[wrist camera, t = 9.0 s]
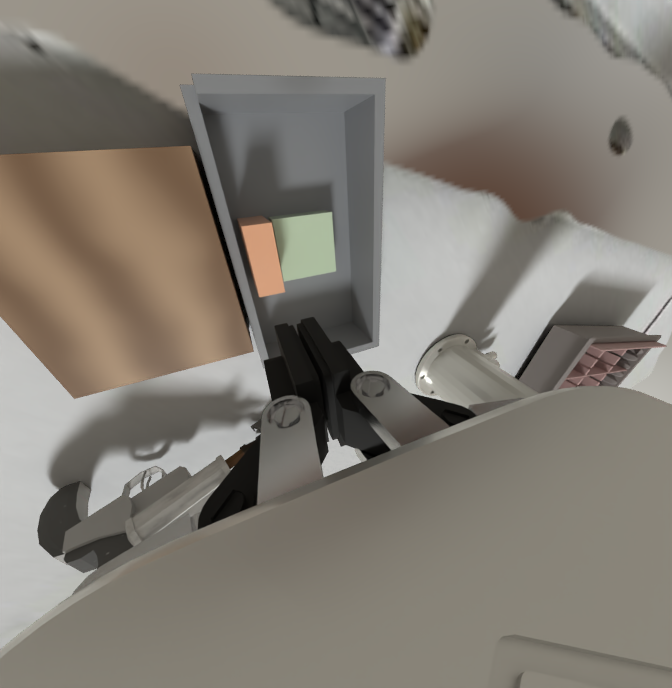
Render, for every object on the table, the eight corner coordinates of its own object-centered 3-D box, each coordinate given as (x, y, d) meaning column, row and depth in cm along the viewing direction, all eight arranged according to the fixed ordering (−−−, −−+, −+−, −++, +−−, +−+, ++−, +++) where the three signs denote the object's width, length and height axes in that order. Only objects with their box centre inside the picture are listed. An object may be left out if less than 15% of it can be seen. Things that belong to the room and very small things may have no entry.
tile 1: (272, 219, 22) (268, 217, 24) (283, 281, 25) (279, 275, 27) (331, 211, 23) (323, 210, 25) (336, 271, 26) (328, 265, 28)
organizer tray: (464, 452, 70) (495, 486, 62) (546, 318, 51) (606, 342, 44) (533, 432, 83) (566, 459, 75) (618, 320, 65) (674, 339, 57)
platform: (195, 153, 20) (190, 145, 16) (248, 328, 29) (253, 351, 25) (-52, 167, 16) (-140, 161, 12) (96, 365, 25) (74, 398, 21)
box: (349, 101, 22) (385, 78, 17) (356, 323, 34) (378, 345, 29) (186, 101, 19) (175, 73, 14) (258, 349, 31) (266, 379, 26)
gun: (29, 495, 28) (19, 641, 19) (248, 375, 43) (303, 424, 34) (60, 516, 31) (65, 653, 22) (255, 397, 46) (308, 448, 37)
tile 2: (236, 218, 23) (261, 215, 23) (252, 278, 26) (274, 274, 26) (241, 226, 18) (271, 222, 19) (259, 297, 21) (285, 292, 22)
